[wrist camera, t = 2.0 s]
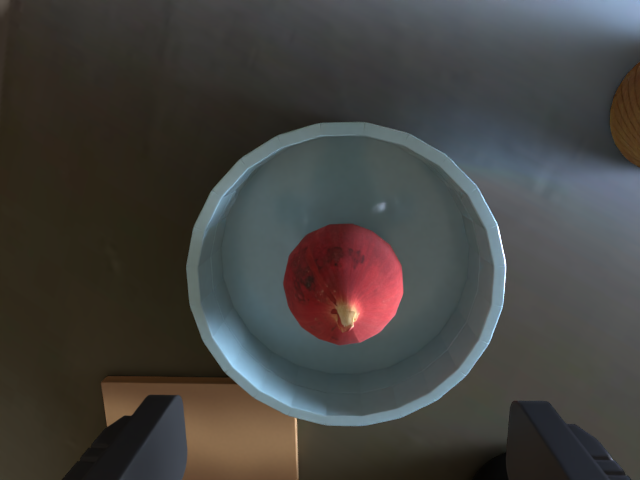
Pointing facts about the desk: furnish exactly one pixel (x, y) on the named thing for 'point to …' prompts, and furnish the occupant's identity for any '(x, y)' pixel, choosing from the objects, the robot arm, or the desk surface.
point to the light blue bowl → (365, 211)
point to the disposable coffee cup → (627, 116)
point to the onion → (343, 283)
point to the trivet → (216, 426)
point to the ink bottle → (493, 469)
